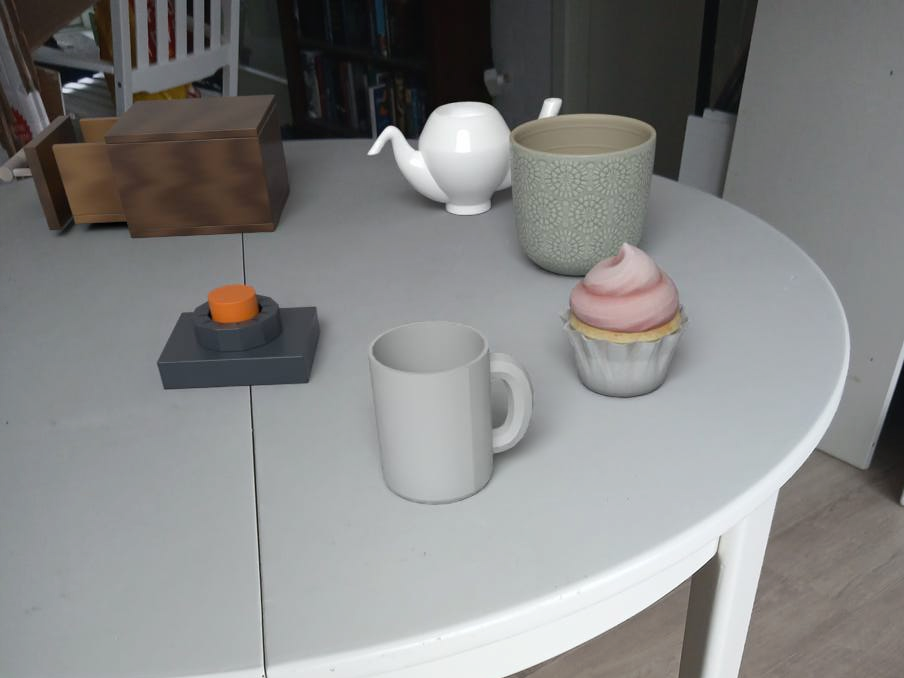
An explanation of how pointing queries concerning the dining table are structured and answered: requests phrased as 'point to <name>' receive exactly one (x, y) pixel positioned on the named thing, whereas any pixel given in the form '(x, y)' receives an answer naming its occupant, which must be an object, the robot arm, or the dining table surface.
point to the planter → (580, 187)
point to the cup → (442, 408)
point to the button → (233, 303)
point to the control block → (240, 348)
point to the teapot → (459, 154)
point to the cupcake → (624, 324)
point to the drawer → (70, 172)
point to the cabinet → (200, 166)
